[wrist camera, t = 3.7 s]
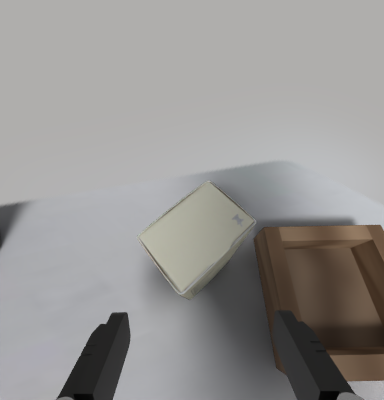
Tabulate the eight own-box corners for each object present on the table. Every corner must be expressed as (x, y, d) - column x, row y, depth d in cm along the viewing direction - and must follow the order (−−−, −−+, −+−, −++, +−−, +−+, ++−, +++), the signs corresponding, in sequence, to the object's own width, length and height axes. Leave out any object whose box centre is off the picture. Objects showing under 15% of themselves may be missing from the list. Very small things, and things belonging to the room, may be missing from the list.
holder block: (276, 367, 18) (296, 382, 14) (253, 239, 24) (263, 227, 20) (408, 365, 18) (461, 378, 14) (352, 237, 24) (380, 224, 20)
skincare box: (203, 234, 24) (211, 174, 13) (229, 261, 22) (263, 217, 12) (162, 271, 22) (131, 234, 11) (187, 303, 20) (180, 297, 10)
